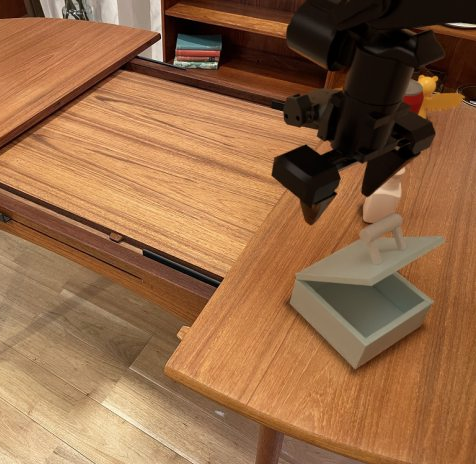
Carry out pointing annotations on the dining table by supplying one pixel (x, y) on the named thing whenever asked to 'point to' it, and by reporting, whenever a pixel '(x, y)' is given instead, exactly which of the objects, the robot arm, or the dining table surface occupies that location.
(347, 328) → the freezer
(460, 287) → the dining table surface
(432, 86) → the figurine
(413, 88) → the beverage can
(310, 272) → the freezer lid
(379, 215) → the pepper shaker
